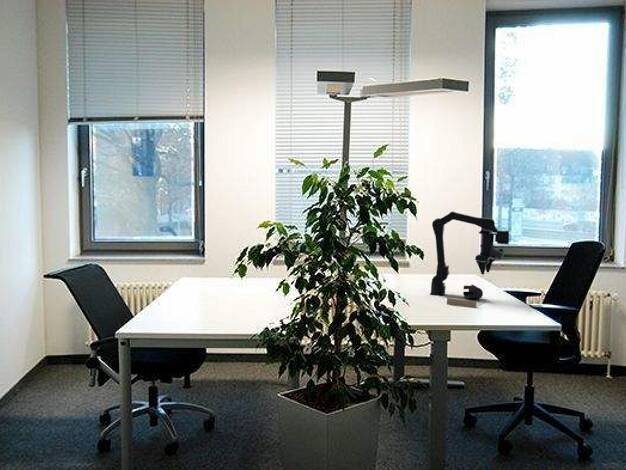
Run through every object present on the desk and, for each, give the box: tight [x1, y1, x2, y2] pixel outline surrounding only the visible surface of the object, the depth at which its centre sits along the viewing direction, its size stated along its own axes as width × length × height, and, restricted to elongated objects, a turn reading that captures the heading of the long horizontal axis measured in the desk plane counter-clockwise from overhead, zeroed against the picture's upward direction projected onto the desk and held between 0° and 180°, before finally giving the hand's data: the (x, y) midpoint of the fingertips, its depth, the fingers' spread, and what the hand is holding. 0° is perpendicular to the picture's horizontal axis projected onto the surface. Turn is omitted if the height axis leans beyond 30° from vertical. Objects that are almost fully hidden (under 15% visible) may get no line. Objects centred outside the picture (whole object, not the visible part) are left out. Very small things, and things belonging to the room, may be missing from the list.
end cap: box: [462, 283, 484, 302], centre depth 326 cm, size 10×7×7 cm
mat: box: [446, 297, 485, 309], centre depth 316 cm, size 14×15×3 cm
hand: (485, 273), depth 330 cm, fingers open, 9 cm apart
